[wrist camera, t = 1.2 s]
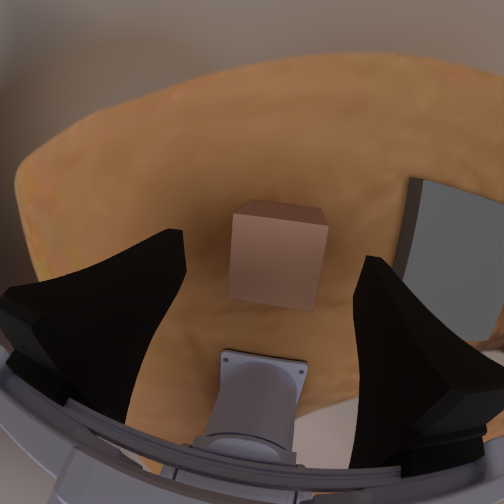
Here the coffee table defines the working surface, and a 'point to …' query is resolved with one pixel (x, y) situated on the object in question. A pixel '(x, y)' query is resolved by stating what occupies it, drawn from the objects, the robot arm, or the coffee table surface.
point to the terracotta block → (277, 254)
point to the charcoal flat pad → (453, 256)
